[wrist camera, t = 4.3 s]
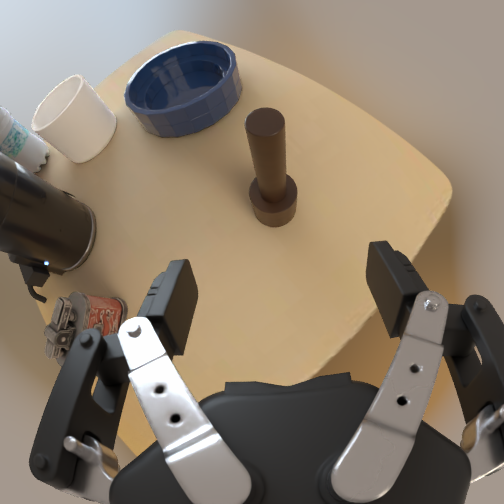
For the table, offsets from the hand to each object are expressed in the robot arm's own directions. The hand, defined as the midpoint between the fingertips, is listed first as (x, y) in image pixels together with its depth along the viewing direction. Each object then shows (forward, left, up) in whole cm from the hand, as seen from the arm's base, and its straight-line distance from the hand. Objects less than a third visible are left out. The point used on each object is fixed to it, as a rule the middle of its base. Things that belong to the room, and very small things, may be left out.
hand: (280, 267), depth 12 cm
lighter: (-17, +10, -15) cm, 25 cm away
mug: (-5, +38, -15) cm, 41 cm away
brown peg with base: (+6, +7, -15) cm, 17 cm away
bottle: (-15, +45, -15) cm, 50 cm away
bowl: (+10, +28, -15) cm, 33 cm away
